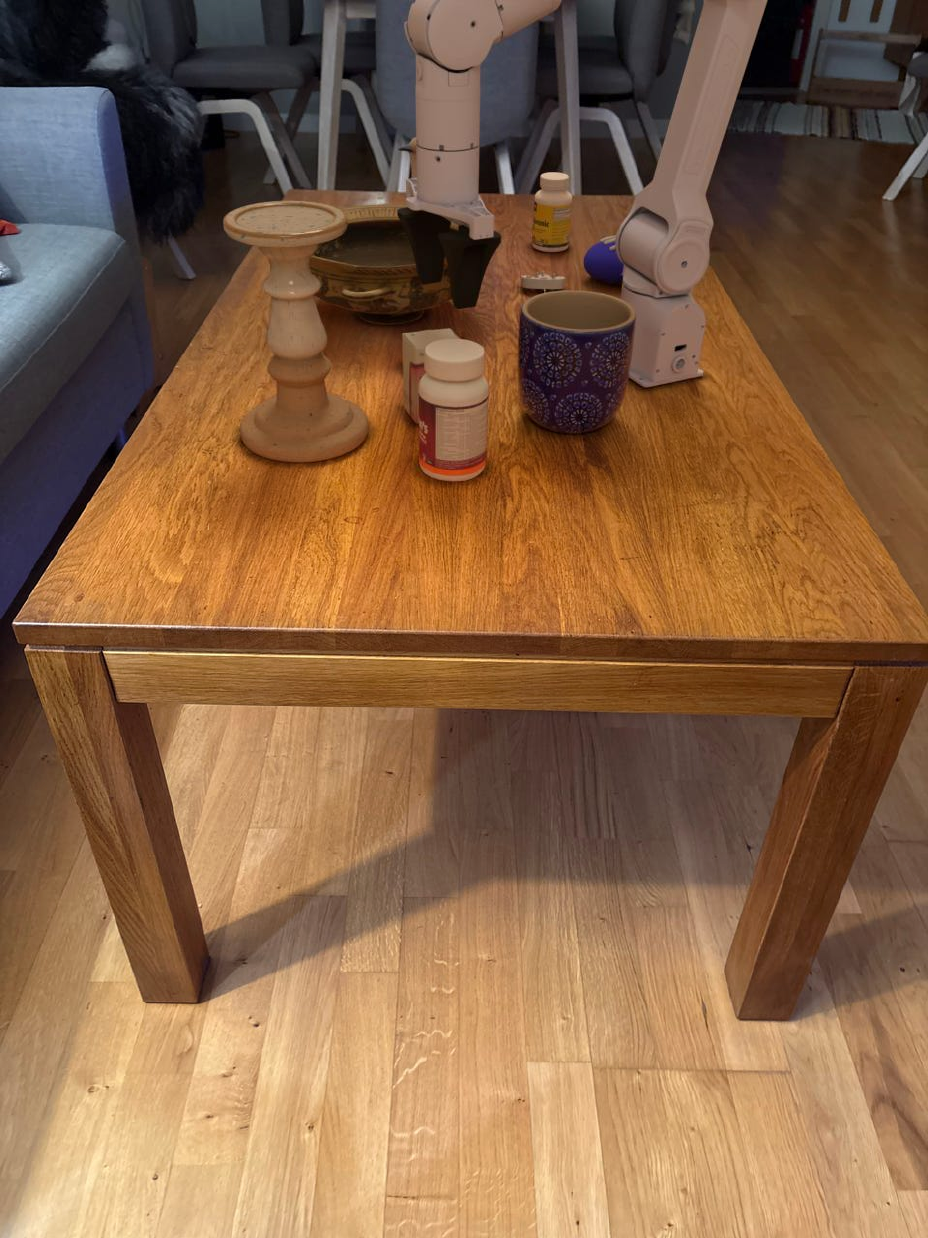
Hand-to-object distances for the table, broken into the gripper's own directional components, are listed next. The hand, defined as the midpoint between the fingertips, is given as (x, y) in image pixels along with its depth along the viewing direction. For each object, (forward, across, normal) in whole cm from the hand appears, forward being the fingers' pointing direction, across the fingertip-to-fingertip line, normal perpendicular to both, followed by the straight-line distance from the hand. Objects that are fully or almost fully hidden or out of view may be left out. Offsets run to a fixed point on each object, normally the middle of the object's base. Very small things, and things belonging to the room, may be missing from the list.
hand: (447, 294), depth 96 cm
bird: (+11, -44, +22) cm, 50 cm away
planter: (+10, +11, +8) cm, 17 cm away
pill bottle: (+10, +15, -7) cm, 19 cm away
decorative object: (+11, -21, +36) cm, 43 cm away
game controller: (+11, -20, +24) cm, 33 cm away
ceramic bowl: (+10, -23, +4) cm, 26 cm away
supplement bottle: (+11, -38, +36) cm, 53 cm away
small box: (+10, +4, -4) cm, 12 cm away
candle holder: (+10, +3, -17) cm, 20 cm away
